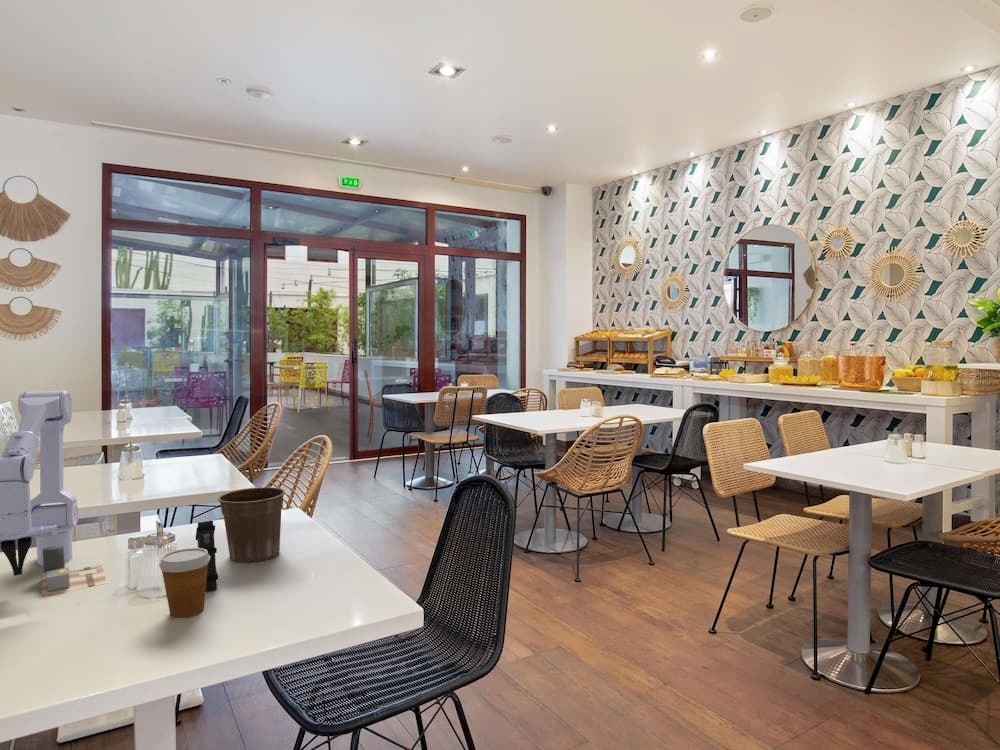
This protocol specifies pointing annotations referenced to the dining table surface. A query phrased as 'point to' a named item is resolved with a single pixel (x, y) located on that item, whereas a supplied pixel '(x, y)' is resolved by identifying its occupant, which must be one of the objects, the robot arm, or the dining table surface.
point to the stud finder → (58, 579)
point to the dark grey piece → (53, 558)
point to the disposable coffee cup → (185, 580)
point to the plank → (78, 580)
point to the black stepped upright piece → (207, 542)
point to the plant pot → (252, 522)
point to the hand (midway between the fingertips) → (18, 573)
